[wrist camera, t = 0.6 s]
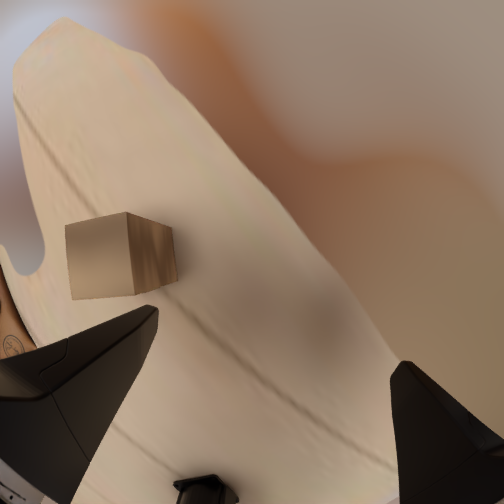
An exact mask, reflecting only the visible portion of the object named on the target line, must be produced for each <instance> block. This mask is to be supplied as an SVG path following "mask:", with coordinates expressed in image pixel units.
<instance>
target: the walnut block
mask: <svg viewBox="0 0 504 504" xmlns="http://www.w3.org/2000/svg"><path fill="white" fill-rule="evenodd" d="M65 239H66V253H67V264H68V273H69V281H70V289H71V295H72V300H83V299H97V298H110V297H122V296H133V295H137V294H140V293H146V292H149V291H152V290H154V289H157V288H160V287H161V286H164V285H167V284H170V283H173V282H176V281H178V279H177V271H176V264H175V255H174V247H173V237H172V228H171V227H168V226H165V225H162V224H159V223H156V222H154V221H151V220H148V219H145V218H142V217H139V216H137V215H134V214H131V213H128V212H123V213H118V214H113V215H109V216H104V217H99V218H95V219H90V220H86V221H81V222H77V223H73V224H69V225H65Z"/></svg>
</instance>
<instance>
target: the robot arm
mask: <svg viewBox="0 0 504 504" xmlns="http://www.w3.org/2000/svg"><path fill="white" fill-rule="evenodd" d="M158 315H159V310H158V308H157V307H154V306H151V305H144V306H142V307H140V308H137V309H135V310H132V311H130V312H128V313H125V314H123V315H120V316H118V317H116V318H113V319H111V320H108V321H106V322H104V323H101V324H99V325H96V326H94V327H92V328H89V329H87V330H84V331H82V332H80V333H77V334H75V335H72V336H70V337H68V338H65V339H62V340H60V341H58V342H55V343H52V344H50V345H47V346H44V347H41V348H38V349H35V350H32V351H28V352H25V353H21V354H18V355H14V356H10V357H7V358H3V359H0V504H41V502H42V500H43V498H44V496H47V497H48V498H50V499H51V500H53V501H55V502H56V503H58V504H70V503H71V501H72V499H73V497H74V495H75V493H76V491H77V489H78V487H79V485H80V482H81V480H82V478H83V476H84V474H85V472H86V470H87V468H88V466H89V464H90V462H91V460H92V458H93V456H94V454H95V452H96V450H97V449H98V447H99V445H100V443H101V441H102V439H103V437H104V435H105V433H106V431H107V430H108V428H109V426H110V424H111V422H112V420H113V418H114V417H115V415H116V413H117V411H118V409H119V407H120V406H121V404H122V402H123V400H124V398H125V397H126V395H127V393H128V391H129V389H130V388H131V386H132V384H133V382H134V381H135V379H136V377H137V375H138V374H139V372H140V370H141V368H142V366H143V364H144V361H145V359H146V356H147V354H148V352H149V349H150V347H151V344H152V342H153V340H154V337H155V335H156V333H157V329H158ZM390 390H391V407H392V418H393V426H394V434H395V442H396V451H397V462H398V476H399V497H400V504H504V439H503V438H501V437H500V436H499V435H497V434H496V433H494V432H493V431H492V430H491V429H490V428H488V427H487V426H486V425H485V424H483V423H482V422H481V421H480V420H479V419H477V418H476V417H475V416H474V415H473V414H471V413H470V412H469V411H468V410H467V409H466V408H465V407H464V406H462V405H461V404H460V403H459V402H458V401H457V400H456V399H454V398H453V397H452V396H451V395H450V394H449V393H448V392H446V391H445V390H444V389H443V388H442V387H441V386H440V385H438V384H437V383H436V382H435V381H434V380H432V379H431V378H430V377H429V376H428V375H427V374H426V373H424V372H423V371H422V370H421V369H420V368H419V367H417V366H416V365H415V364H414V363H413V362H411V361H401V362H400V363H399V365H398V366H397V368H396V369H395V371H394V372H393V374H392V375H391V378H390ZM173 486H174V487H175V488H176V489H177V490H178V491H179V492H180V493H179V496H178V499H177V502H176V504H235V503H238V502H239V498H238V497H237V496H236V495H235V494H234V492H233V491H232V490H231V489H230V488H229V487H228V486H227V485H225V484H224V483H223V482H222V481H221V480H220V479H219V478H218V476H216V475H209V476H204V477H199V478H194V479H189V480H183V481H176V482H174V483H173Z"/></svg>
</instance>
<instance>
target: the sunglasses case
mask: <svg viewBox="0 0 504 504" xmlns="http://www.w3.org/2000/svg"><path fill="white" fill-rule="evenodd" d="M35 349H37V346H36V345H35V343H34V341H33V340H32V338H31V336H30V335H29V333H28V331H27V330H26V328H25V326H24V324H23V322H22V320H21V318H20V316H19V314H18V311H17V309H16V306H15V304H14V302H13V299H12V297H11V294H10V292H9V289H8V286H7V283H6V280H5V277H4V275H3V271H2V268H1V265H0V359H3V358H7V357H10V356H14V355H18V354H21V353H25V352H28V351H32V350H35Z"/></svg>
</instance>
